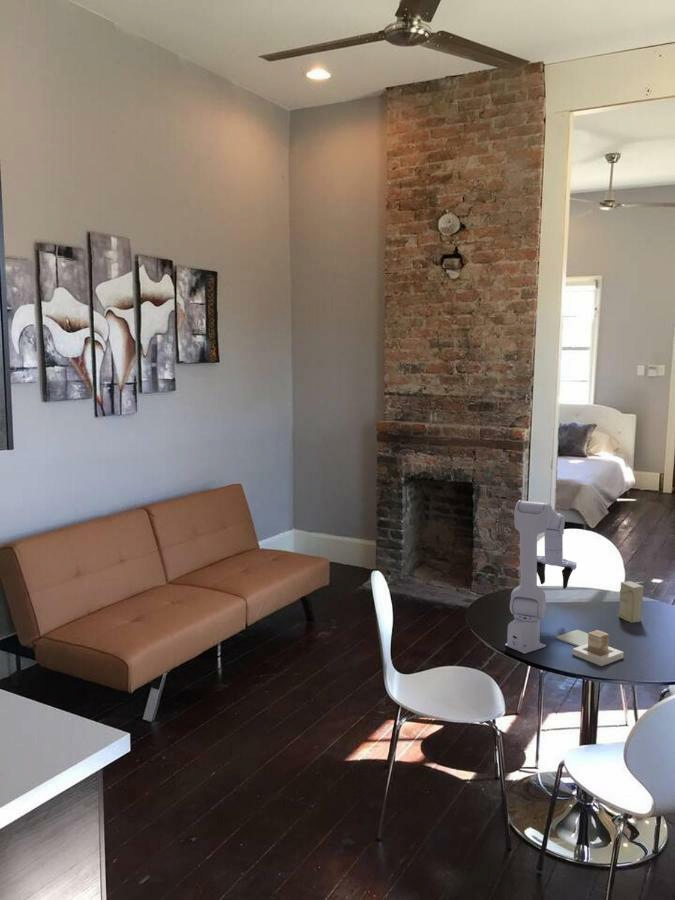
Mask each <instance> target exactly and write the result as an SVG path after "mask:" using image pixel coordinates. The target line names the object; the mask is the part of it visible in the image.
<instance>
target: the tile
mask: <svg viewBox="0 0 675 900" xmlns="http://www.w3.org/2000/svg"><path fill="white" fill-rule="evenodd" d="M588 633H589V632H588ZM588 633H587V632H585V631H582V630H580V629H576V630H571V631H569V632H566V633H563V634H560V635H556V637H555V638H556V640H560V641H563V642H565V643H567V644H570V645H572V646H575V647H579V646H582V645H585V644H588Z"/></svg>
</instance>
